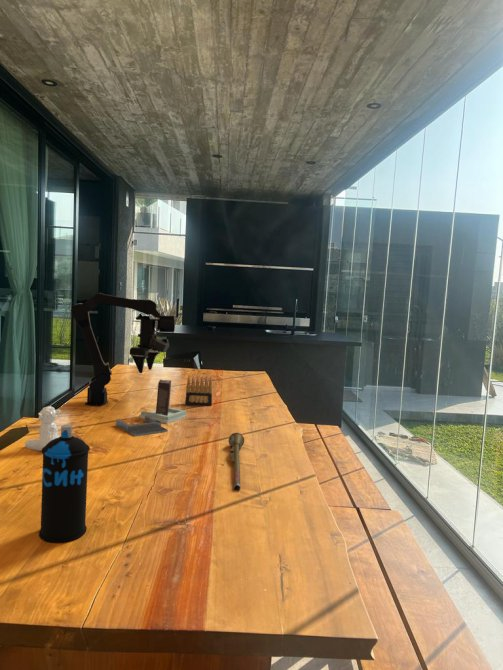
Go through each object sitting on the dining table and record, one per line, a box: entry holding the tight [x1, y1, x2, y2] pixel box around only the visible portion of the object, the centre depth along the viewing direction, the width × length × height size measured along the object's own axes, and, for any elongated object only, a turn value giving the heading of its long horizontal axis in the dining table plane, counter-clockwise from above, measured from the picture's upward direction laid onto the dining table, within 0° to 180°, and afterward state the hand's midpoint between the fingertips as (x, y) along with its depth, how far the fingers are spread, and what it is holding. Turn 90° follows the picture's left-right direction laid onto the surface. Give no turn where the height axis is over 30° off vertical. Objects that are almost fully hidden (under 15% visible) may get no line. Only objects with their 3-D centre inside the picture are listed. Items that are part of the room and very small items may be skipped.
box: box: [155, 379, 172, 416], centre depth 174 cm, size 6×4×12 cm
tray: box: [138, 407, 187, 425], centre depth 174 cm, size 12×12×2 cm
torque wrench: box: [228, 432, 245, 491], centre depth 132 cm, size 5×35×5 cm
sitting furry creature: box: [24, 405, 61, 452], centre depth 134 cm, size 10×9×12 cm
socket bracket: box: [115, 416, 169, 437], centre depth 159 cm, size 14×12×2 cm
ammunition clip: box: [184, 374, 213, 407], centre depth 196 cm, size 11×2×12 cm, turn 96°
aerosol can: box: [38, 424, 91, 544], centre depth 89 cm, size 8×8×20 cm
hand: (145, 371), depth 191 cm, fingers open, 9 cm apart
